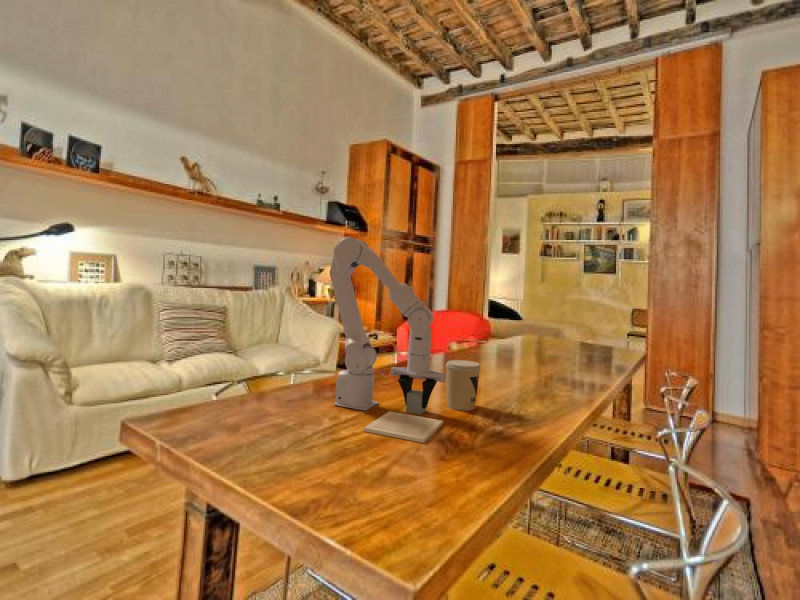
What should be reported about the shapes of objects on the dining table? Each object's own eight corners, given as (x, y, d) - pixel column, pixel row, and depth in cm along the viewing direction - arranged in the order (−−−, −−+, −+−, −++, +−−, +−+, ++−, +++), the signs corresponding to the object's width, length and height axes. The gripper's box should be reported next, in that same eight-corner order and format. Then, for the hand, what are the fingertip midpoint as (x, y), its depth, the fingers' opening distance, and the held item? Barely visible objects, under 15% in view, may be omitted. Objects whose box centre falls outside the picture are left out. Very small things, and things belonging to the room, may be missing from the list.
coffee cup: (477, 413, 116) (480, 367, 115) (441, 409, 118) (444, 364, 117) (478, 403, 125) (481, 361, 124) (445, 400, 127) (447, 358, 126)
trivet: (363, 431, 98) (363, 427, 98) (389, 414, 111) (389, 410, 111) (423, 443, 92) (423, 439, 92) (442, 423, 105) (443, 420, 105)
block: (406, 412, 113) (407, 392, 113) (411, 408, 117) (412, 389, 117) (420, 414, 112) (421, 395, 111) (425, 410, 115) (426, 391, 115)
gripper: (387, 352, 113) (384, 405, 113) (441, 359, 107) (438, 414, 108) (397, 349, 119) (395, 398, 120) (449, 355, 114) (446, 407, 114)
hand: (416, 406), depth 114 cm, fingers closed on block, 4 cm apart
